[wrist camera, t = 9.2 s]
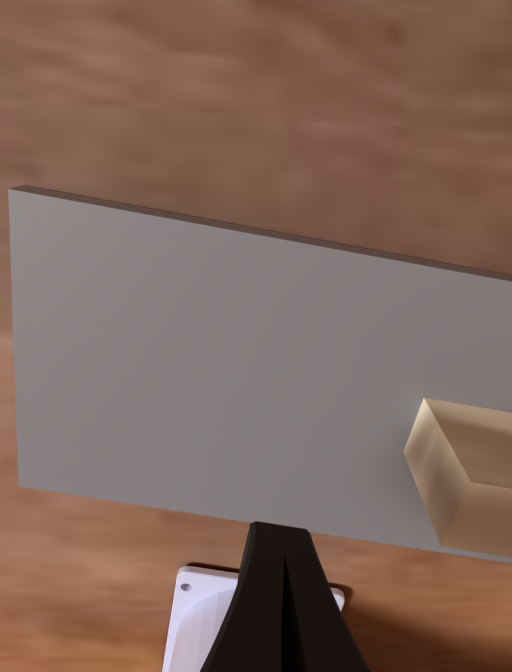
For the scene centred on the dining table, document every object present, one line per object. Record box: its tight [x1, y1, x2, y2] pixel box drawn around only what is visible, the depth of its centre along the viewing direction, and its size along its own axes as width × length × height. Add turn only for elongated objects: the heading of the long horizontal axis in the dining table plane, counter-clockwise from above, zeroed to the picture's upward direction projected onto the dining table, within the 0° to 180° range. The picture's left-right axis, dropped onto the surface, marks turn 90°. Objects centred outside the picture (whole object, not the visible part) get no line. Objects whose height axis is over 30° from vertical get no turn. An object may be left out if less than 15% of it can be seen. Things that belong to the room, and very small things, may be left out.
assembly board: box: [8, 185, 512, 563], centre depth 19 cm, size 12×35×1 cm, turn 80°
